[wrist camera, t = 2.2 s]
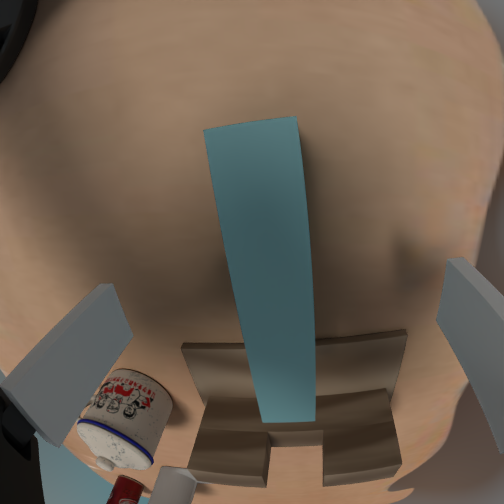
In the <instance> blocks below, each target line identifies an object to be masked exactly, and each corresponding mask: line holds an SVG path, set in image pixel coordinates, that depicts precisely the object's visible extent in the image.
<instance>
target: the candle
mask: <svg viewBox="0 0 504 504" xmlns="http://www.w3.org/2000/svg"><path fill="white" fill-rule="evenodd" d="M197 483H207V482H201V481H197V480H196V479H195V478H194V477H193V475H192V474H191V473H190V472H189V471H188V470H187V469H186V468H176V467H168V466H163V467H161V469H160V471H159V474H158V477H157V480H156V483H155V486H154V489H153V491H152V494H151V497H150V500H149V502H148V504H191V502H192V499H193V497H194V493H195V490H196V486H197ZM212 484H215V483H212Z"/></svg>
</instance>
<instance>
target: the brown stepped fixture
mask: <svg viewBox="0 0 504 504" xmlns="http://www.w3.org/2000/svg"><path fill="white" fill-rule="evenodd" d="M407 337H408V334H407V332H406V330H398V331H391V332H384V333H376V334H368V335H360V336H351V337H341V338H330V339H318V340H315V361H316V408H315V421H309V422H283V423H263V422H262V418H261V414H260V410H259V406H258V401H257V397H256V393H255V388H254V384H253V380H252V375H251V371H250V366H249V362H248V358H247V353H246V349H245V344H244V343H183V345H182V347H181V351H182V353H183V356H184V358H185V361H186V363H187V366H188V368H189V371H190V373H191V376H192V378H193V380H194V383H195V385H196V387H197V390H198V392H199V394H200V397H201V399H202V401H203V403H204V406H205V411H204V414H203V417H202V421H201V424H200V427H199V431H198V434H197V437H196V440H195V444H194V447H193V450H192V453H191V457H190V460H189V463H188V466H187V470H188V471H189V472H190V473H191V474H192V475H193V477H194V478H195V479H196V480H197V481H201V482H207V483H215V484H223V485H232V486H244V487H261V488H266V486H267V478H268V470H269V462H270V453H271V447H297V446H318V445H323V487H325V486H337V485H346V484H354V483H361V482H368V481H374V480H379V479H385V478H390V477H394V475H395V474H396V472H397V471H398V469H399V468H400V466H401V465H402V459H401V454H400V448H399V443H398V438H397V434H396V429H395V424H394V420H393V415H392V411H391V407H390V401H391V398H392V395H393V391H394V388H395V385H396V381H397V377H398V374H399V370H400V366H401V362H402V358H403V354H404V350H405V346H406V341H407Z"/></svg>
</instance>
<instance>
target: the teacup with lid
mask: <svg viewBox="0 0 504 504" xmlns="http://www.w3.org/2000/svg"><path fill="white" fill-rule="evenodd" d="M90 404H91V405H90ZM88 405H90V407H89V409H88V410H87V412H86V413H85V415H84V417H83V418H80V416H79V417H78V419H77V420H76V421H77V422H78V423H77V432H78V434H79V436H80V437H81V438H82V440H83V441H84V442H85V443H86V444H87V445H88V446H89V448H90V449H91V451H92V452H93V453H94V454H95V455H96V456H97V457H98V458H97V459H96V464H97V465H98V466H99V467H101V468H102V469H104V470H106V471H113V469H114V466H115V467H118V468H132V469H137V470H145V469H148V468H149V467H150V466H151V465H152V464H153V463H154V460H153V456H154V454H155V451H156V449H157V446H158V443H159V441H160V438H161V436H162V433H163V431H164V428H165V426H166V423H167V421H168V418H169V416H170V413H171V411H172V407H173V404H172V400H171V398H170V396H169V394H168V393H167V392H166V391H165V390H164V389H163V388H162V387H161V386H160V385H159V384H158V383H156V382H155V381H154V380H152V379H150V378H149V377H147V376H145V375H143V374H141V373H138V372H135V371H132V370H126V369H119V370H115V371H113V372H112V373H111V374H110V375H109V377H108V378H107V380H106V381H105V383H104V384H103V386H102V388H101V389H100V391H99V392H98V394H97V395H93V396H92V397H91V399H90V400H89V402H88V403H87V405H86V406H85V407H87V406H88Z"/></svg>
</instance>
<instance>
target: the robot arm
mask: <svg viewBox="0 0 504 504" xmlns="http://www.w3.org/2000/svg"><path fill="white" fill-rule="evenodd" d="M37 1H38V0H0V82H1V81H2V80H3V78H4V77H5V76H6V74H7V73H8V71H9V69H10V68H11V66H12V64H13V63H14V61H15V59H16V57H17V55H18V53H19V51H20V49H21V47H22V45H23V43H24V41H25V38H26V36H27V34H28V31H29V29H30V26H31V23H32V20H33V17H34V14H35V10H36V6H37ZM436 321H437V323H438V325H439V326H440V328H441V330H442V332H443V333H444V335H445V337H446V338H447V340H448V342H449V344H450V346H451V347H452V349H453V351H454V353H455V355H456V356H457V358H458V360H459V362H460V364H461V366H462V368H463V370H464V372H465V374H466V376H467V378H468V380H469V382H470V384H471V386H472V388H473V390H474V392H475V394H476V396H477V398H478V400H479V403H480V405H481V407H482V409H483V412H484V414H485V416H486V419H487V421H488V424H489V426H490V428H491V431H492V433H493V436H494V439H495V441H496V444H497V447H498V449H499V452H500V454H502V453H504V297H503V296H502V295H501V293H499V291H498V290H497V289H496V288H495V287H493V285H492V284H491V283H490V282H489V281H488V280H487V279H485V277H484V276H483V275H481V273H479V272H478V271H477V270H476V269H475V268H474V267H473V266H472V265H471V264H470V263H469V262H468V261H467V260H466V259H465V258H463V257H459V258H450V259H447V263H446V270H445V277H444V283H443V289H442V294H441V300H440V305H439V309H438V314H437V318H436ZM132 338H133V333H132V331H131V329H130V326H129V324H128V322H127V319H126V317H125V314H124V312H123V309H122V307H121V304H120V301H119V299H118V296H117V294H116V291H115V288H114V285H113V283H109V284H99V285H98V286H97V287H96V288H95V289H93V290H92V291H91V292H90V293H89V294H88V295H87V296H86V297H85V298H84V299H83V300H82V301H81V302H79V303H78V304H77V305H76V306H75V307H74V308H73V309H72V310H71V311H70V312H69V313H68V314H67V315H66V316H65V317H64V318H63V319H62V320H61V321H60V322H59V323H58V324H57V325H56V326H55V327H54V328H53V329H52V330H51V331H50V332H49V333H48V334H47V335H46V336H45V337H44V338H43V339H42V340H41V341H40V342H39V343H38V344H37V345H36V346H35V347H34V348H33V349H32V350H31V351H30V352H29V353H28V354H27V355H26V356H25V358H24V359H23V360H22V361H21V362H20V363H19V364H18V365H17V366H16V367H15V368H14V370H13V371H12V372H11V373H10V374H9V375H8V376H7V377H6V379H5V380H4V381H3V382H2V383H1V384H0V504H45V502H44V496H43V488H42V481H41V473H40V462H39V448H38V440H37V438H36V437H35V436H34V435H33V434H34V433H35V432H36V431H37V432H38V433H39V434H40V436H42V438H43V439H44V440H45V441H47V442H49V443H50V444H52V445H54V446H56V447H58V448H59V447H60V446H61V444H62V443H63V441H64V439H65V438H66V436H67V435H68V433H69V431H70V430H71V428H72V427H73V425H74V423H75V422H76V420H77V419H78V417H79V416H80V414H81V412H82V411H83V409H84V408H85V406H86V405H87V403H88V402H89V400H90V399H91V397H92V396H93V394H94V393H95V391H96V390H97V388H98V387H99V385H100V384H101V382H102V381H103V379H104V378H105V376H106V375H107V373H108V372H109V370H110V369H111V368H112V366H113V365H114V363H115V362H116V360H117V359H118V357H119V356H120V355H121V353H122V352H123V350H124V349H125V347H126V346H127V345H128V343H129V342H130V340H131V339H132Z"/></svg>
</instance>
